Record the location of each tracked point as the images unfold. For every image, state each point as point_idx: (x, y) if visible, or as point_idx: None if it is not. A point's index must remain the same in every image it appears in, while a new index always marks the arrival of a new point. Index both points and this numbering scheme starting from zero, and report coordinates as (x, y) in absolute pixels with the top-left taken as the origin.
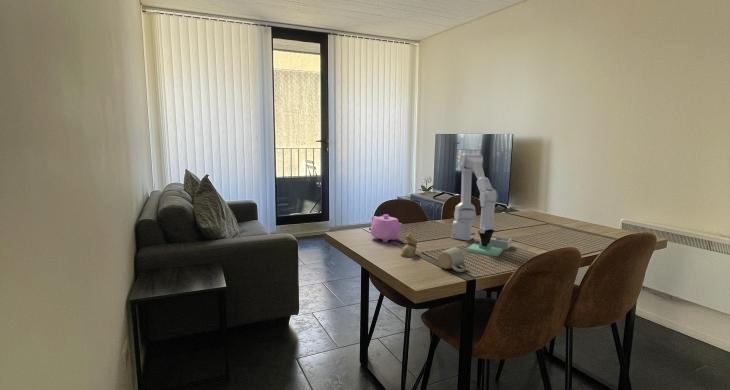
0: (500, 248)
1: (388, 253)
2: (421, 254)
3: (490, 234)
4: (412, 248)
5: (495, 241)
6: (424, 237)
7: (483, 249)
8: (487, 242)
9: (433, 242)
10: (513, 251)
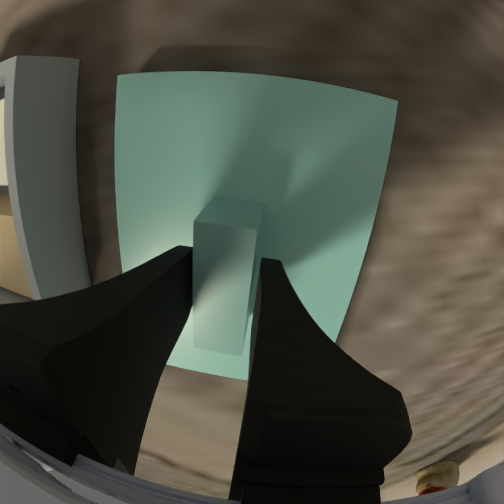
0: (131, 97)
1: None
2: (433, 457)
3: (277, 374)
4: (452, 483)
5: (29, 195)
6: (170, 476)
7: (294, 269)
8: (291, 286)
9: (222, 468)
10: (87, 4)
